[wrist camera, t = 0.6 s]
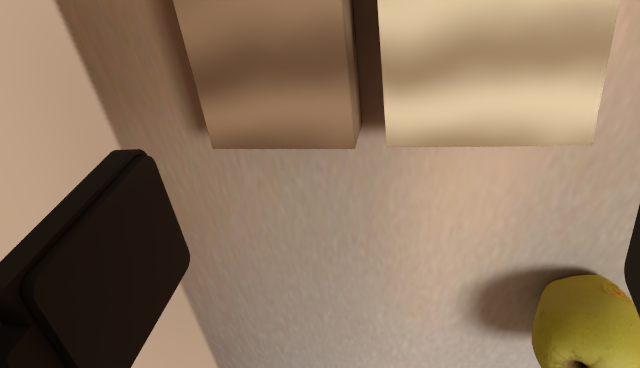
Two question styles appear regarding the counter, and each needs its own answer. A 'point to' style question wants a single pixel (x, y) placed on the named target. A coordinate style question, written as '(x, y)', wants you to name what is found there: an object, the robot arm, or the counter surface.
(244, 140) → the walnut plinth
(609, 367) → the apple
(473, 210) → the counter surface
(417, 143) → the maple plinth
